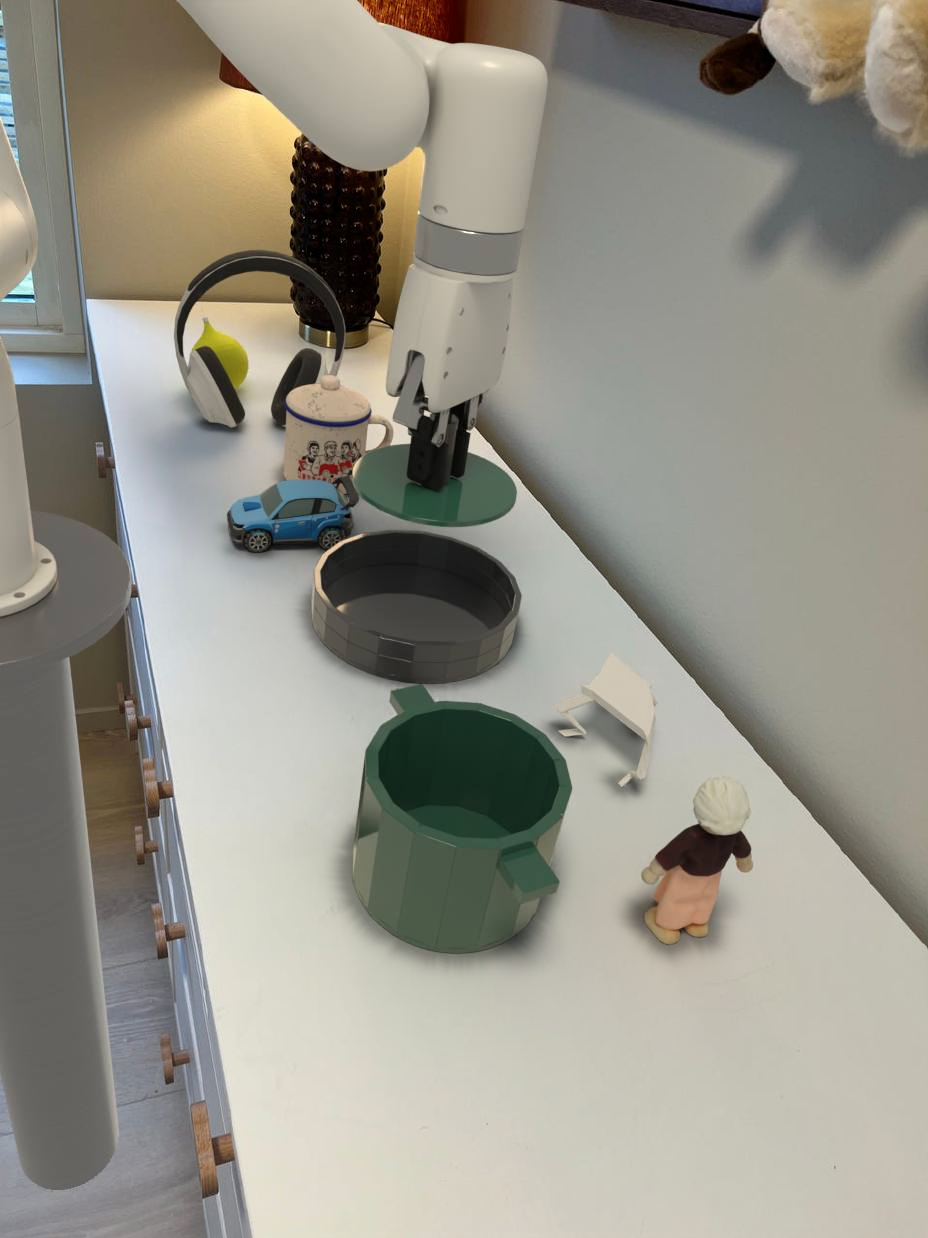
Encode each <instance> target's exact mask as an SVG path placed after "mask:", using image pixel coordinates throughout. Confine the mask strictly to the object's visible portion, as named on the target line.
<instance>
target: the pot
mask: <svg viewBox="0 0 928 1238" xmlns="http://www.w3.org/2000/svg"><path fill="white" fill-rule="evenodd" d="M388 700H389V703H390V705H391V707H392V708H393V710H394V712H395V713H396V715H394V716H393V717H391V718H390V719H388V720H386V721H385V722H383V723H382V724H381V725H379V727H378V729H377V730H376V732H375V734H374V735H373V737H372V738H371V740H370V742H369V743H368V745H367V746H366V748H365V750H364V758H363V766H362V773H361V774H362V775H361V782H360V783H361V784H360V791H359V800H358V806H357V807H358V808H357V815H356V824H355V833H354V841H353V848H352V880H353V883H354V887H355V888H354V889H355V890H356V893H357V895H358V899H359V901H360V902H361V904H362V905H363V907H364V908H365V910H366V911H367V912H368V914H369V915H370V916H371V918H372V919H374V921H376V923H378V924H379V925H380V926H381V927H382V928H384V929H385V930H386V931H387V932H389V933H390V934H392V935H393V936H395V937H396V938H398V939H400V940H402V941H403V942H405V943H408V944H411V945H412V946H415V947H418V948H421V949H424V950H429V951H434V952H437V953H446V954H469V953H475V952H481V951H484V950H488V949H492V948H494V947H497V946H500V945H502V944H504V943H505V942H507V941H508V940H511V939H512V938H514V937H515V936H516V935H517V934H519V933H520V932H521V931H523V929H524V928H525V927H526V926H527V925H528V923H530V921H531V919H532V918H533V916H534V915H535V914H536V912H537V909H538V907H539V903H540V899H541V898H545V897H547V896H550V895H554V894H556V893H557V891H558V888H559V886H560V882H561V881H560V880H559V878H558V877H557V875H556V873H555V872H554V871H553V869H552V868H551V864H552V860H553V858H554V854H555V851H556V847H557V844H558V840H559V837H560V834H561V829H562V827H563V823H564V820H565V816H566V814H567V809H568V807H569V803H570V799H571V796H572V792H573V784H572V780H571V775H570V771H569V768H568V764H567V760H566V758H565V757H564V755H563V754H562V753H561V751H560V750H558V748H557V747H556V746H555V744H554V743H553V741H552V740H551V739H550V738H549V737H548V735H547V734H546V733H545V732H543V731H542V730H540V729H539V728H537V727H536V726H534V725H532V724H531V723H529V722H528V721H526V720H525V719H523V718H521V717H520V716H518V715H517V714H515V713H512V712H509V711H506V710H503V709H500V708H497V707H493V706H491V705H487V704H485V703H481V702H471V701H454V700H438V701H435V700H434V698H433V697H432V696H431V694H430V693H429V691H428V690H427V688H426V687H425V686H424V683H419V684H415V685H412V686H406V687H402V688H397V689H391V690H390V692H389V699H388Z"/></svg>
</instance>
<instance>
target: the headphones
mask: <svg viewBox="0 0 928 1238" xmlns="http://www.w3.org/2000/svg"><path fill="white" fill-rule="evenodd" d="M253 272H262V273H274V274H279V275H282V276H286V277H290V278H291V279H293V280H295V281H298V282H299V283H302V284H303V286H305V287H307V288H309V289H310V290H311V291H312V292H313V293H314V294H315V295H316V296H317V297H318V298H319V299H320V300H321V301H322V303H323V304H324V306H325V307H326V309H327V311H328V312H329V314H330V317H331V320H332V323H333V326H334V331H335V332H334V333H335V340H336V342H335V354H334V360H333V362H332V366H331V368H330V371H328V368H327V360H326V357H325V356H324V355H323V354H322V353H320V352H318V351H317V350H315V349H314V348H309V347H305V348H302V349H300V350H299V351H298V352H297V353H296V354H295V355H294V357H293V358H292V360H291V361H290V363H288V366H287V368H286V370H285V371H284V373H283V375H282V377H281V378H280V381H279V383H278V385H277V387H276V390H275V393H274V395H273V397H272V402H271V404H270V413H271V416H272V419H274V420H275V422H276V423H278V424H279V425H280V426H282V427H284V428H286V413H287V410H286V408H285V400H286V398H287V396H288V394H289V393H290V392H291V391H292V390H294V389H295V388H298V387H301V386H304V385H311V384H315V383H319V382H321V378H322V377H323V376H325V375H333V376H336V377H337V376H338V373H339V370H340V366H341V363H342V361H343V357H344V352H345V344H346V325H345V319H344V316H343V313H342V309H341V308H340V305H339V303H338V301H337V299H336V294H335V293H334V291H333V289H332V288H331V287H330V286H329V284H328V283H327V282H326V280H324V278H323V277H322V276H320V275H319V273H317V272H316V271H315V270H314V269H313V268H311V267H310V266H309V265H308V264H306V263H304V262H303V261H301V260H299V259H297V258H295V257H293V256H291V255H288V254H285V253H282V252H280V251H272V250H266V249H249V250H241V251H238V252H237V251H236V252H233V253H230V254H227V255H225V256H222V257H220V258H219V259H217V260H215V261H213V262H211V264H209V265H208V266H207V267H204V268H203V269H202V270H201V271H199V273H198V274H197V275H196V276H194V278H193V279H192V280H191V281H190V282H189V284H188V287H187V288H186V290H185V292H184V293H183V295H182V297H181V299H180V301H179V304H178V306H177V310H176V314H175V318H174V328H173V329H174V330H173V341H174V349H175V357H176V361H177V364H178V367H179V368H178V369H179V372H180V374H181V377H182V379H183V382H184V385H185V387H186V389H187V391H188V393H189V395H190V396H191V398H192V400H193V402H194V404H195V405H196V407H197V408H198V410H199V412H200V413H201V414H202V415H203V417H204V418H205V420H207V421H208V422H209V423H216V424H221V425H225V426H227V427H229V428H235V427H237V426H238V425H240V423H242V422H243V420H244V419H245V417H246V411H245V408H244V406H243V404H242V401H241V400H240V397H239V395H238V393H237V392H236V391H237V390H236V389H234V387H233V385H232V383H231V380H230V378H229V376H228V374H227V372H226V371H225V369H224V367H223V365H222V364H221V362H220V360H219V358H218V357H217V355H216V353H215V352H214V351H213V350H212V349H211V347H208V346H202V347H199V348H197V349H195V350H193V351H192V350H191V351H192V352H191V351H190V352H189V359H188V364H187V361H186V358H185V353H184V334H185V329H186V323H187V321H188V319H189V317H190V313H191V311H192V310H193V308H194V306H195V305H196V303H197V302H198V301H199V300H200V299H201V298H202V297H203V296H205V294H206V293H207V292H208V291H209V290H211V288H213V287H214V286H215V285H217V284H219V283H221V282H223V281H225V280H227V279H228V278H230V277H234V276H238V275H241V274H245V273H253Z"/></svg>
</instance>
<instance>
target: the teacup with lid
mask: <svg viewBox="0 0 928 1238" xmlns="http://www.w3.org/2000/svg"><path fill="white" fill-rule="evenodd" d="M285 408H286V410H287V413H286V427H285V433H284V435H285V437H284V458H283V460H284V461H283V476H284V479H285V481H286V480H299V479H312V480H321V481H325V482H329V483H333V482H334V481H335V480H336V479H337V478H339V477H345V476H347V475H349V477H350V479H351V481H352V471H353V467H354V465H355V463H356V462H357V461H358V459H360V458H361V457H362V456H363V455H365V454H367V453H368V452H371V451H373V450H375V449H378V448H382V447H386V446H391V445H392V441H393V439H394V427H393V425H392V423H391V422H390V421H389V419H388V418H386V417H384V416H383V415H379V414H372V406H371V404H370V401H369V400H368V399H367V398H366V397H365V396H364V395H363V394H362V393H360V392H358V391H356V390H354V389H351V388H349V387H346V386H344V385H342V384H341V380H340V378H339V377H337V376H333V375H325V376H323V377H322V378H321V382H319V383H315V384H311V385H304V386H301V387H298V388H295V389H294V390H292V391H291V392H290V393H289V394H288V396H287V398H286V400H285ZM369 425H382V426H383V427H385V434H384V437H383V439H382V441H381V442H380V443H379V444H378V445H377V446H376V447H374V448H372V449H369V450H367V441H368V440H367V439H368V428H369ZM336 485H337V484H334V486H336ZM338 489H340V490H341V491H342V492H343V494H344V495H348V494H347V492H346V490H345V488H344V486H343V484H342V483H340V485H339V487H338Z"/></svg>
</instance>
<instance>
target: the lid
mask: <svg viewBox="0 0 928 1238" xmlns="http://www.w3.org/2000/svg"><path fill="white" fill-rule="evenodd" d="M428 417H430V419H431V420H432V422H433V423H434V418H435V414H433V413H429V415H428ZM458 424H459V418H458V417H457V416H455V415H454V414H451V413H449V417H448V423H447V429H446V435H445V440H444V443H446V444H448V445H449V446H448V453H447V460H446V467H445V474H444V481H443V487H442V488H441V489H439V490H437V491H435V490H432V489H430V488H428V487H426V486H423V485H421V484H419V483H416V482H414V481H412V480H410V479H408V477H407V467H408V459H409V451H410V443H399V444H390V446H386V447H382V448H378V449H375V450H373V451H371V452H368V453H367V454H365V455H363V456H362V457H361V458H360V459H358V461H357V462H356V463H355V465H354V467H353V471H352V483H353V486H354V488H355V490H356V491H357V494H358V496H359V497H360V498H361V499H362V500H364V502H366V503H367V504H369V505H370V506H372V507H374V508H375V509H376V510H378V511H381V512H383V513H385V514H387V515H390V517H391V516H392V517H394V518H397V519H400V520H403V521H406V522H411V523H415V524H418V525H424V526H432V527H439V528H440V527H441V528H466V527H467V528H468V527H476V526H481V525H485V524H488V523H492V522H495V521H497V520H499V519H501V518H503V517H505V516H506V515H507V514H508V513H510V512H511V510H512V509H513V508H514V506H515V504H516V503H517V496H518V490H517V486H516V484H515V483H516V482H515V481H514V480H513V479H512V478H513V477H511V476H510V474H509V473H508V472H507V471H506V470H504V469H503V468H501V467H500V466H498V465H497V464H496V463H495V462H492V461H490V460H489V459H486V458H484V457H483V456H480V455H478V454H475V453H472V452H470V451H468V454H467V460H466V466H465V473H464V475H463V476H462V477H460V478H456V477H453V476H451V471H452V464H453V458H454V451H455V444H456V438H457V431H458Z"/></svg>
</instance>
